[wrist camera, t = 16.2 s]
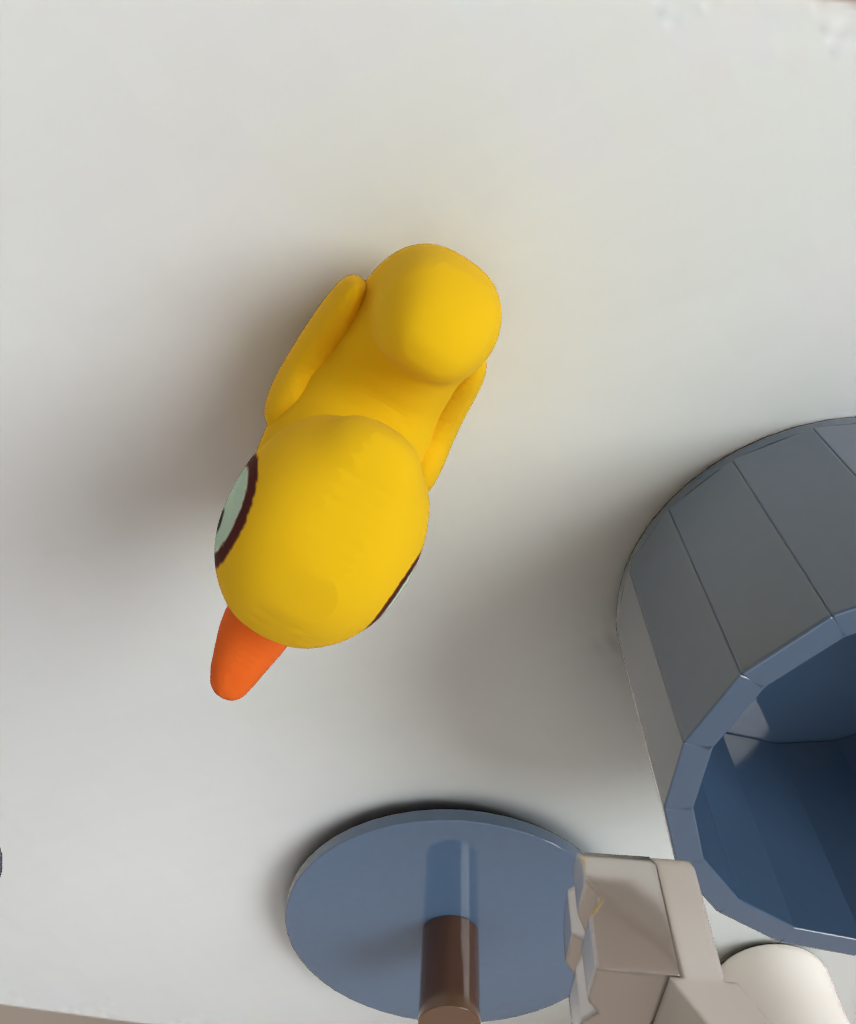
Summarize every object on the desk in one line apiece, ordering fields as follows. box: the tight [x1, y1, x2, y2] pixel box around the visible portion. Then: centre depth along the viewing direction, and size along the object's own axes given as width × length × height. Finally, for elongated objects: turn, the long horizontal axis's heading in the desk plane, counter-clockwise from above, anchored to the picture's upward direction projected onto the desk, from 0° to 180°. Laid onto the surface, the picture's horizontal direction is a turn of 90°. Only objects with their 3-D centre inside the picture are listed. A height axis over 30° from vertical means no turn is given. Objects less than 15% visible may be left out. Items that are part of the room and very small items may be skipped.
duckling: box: [210, 244, 501, 701], centre depth 21 cm, size 11×5×10 cm, turn 148°
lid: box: [285, 809, 581, 1024], centre depth 36 cm, size 15×15×5 cm
